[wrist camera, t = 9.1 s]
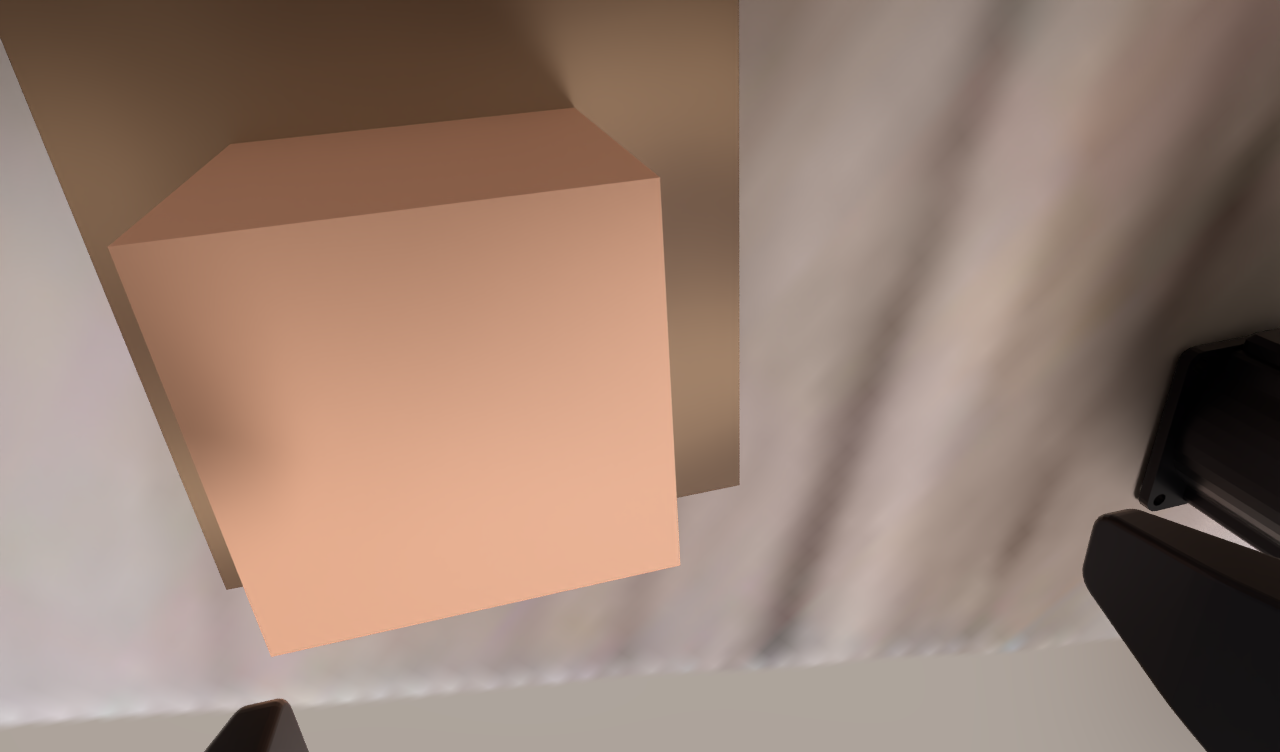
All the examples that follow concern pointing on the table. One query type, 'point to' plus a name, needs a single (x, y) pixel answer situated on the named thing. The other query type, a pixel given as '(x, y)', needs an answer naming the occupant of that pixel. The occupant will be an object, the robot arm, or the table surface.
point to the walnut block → (397, 96)
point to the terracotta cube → (417, 366)
